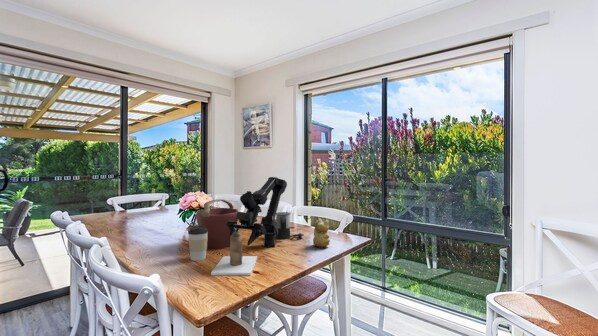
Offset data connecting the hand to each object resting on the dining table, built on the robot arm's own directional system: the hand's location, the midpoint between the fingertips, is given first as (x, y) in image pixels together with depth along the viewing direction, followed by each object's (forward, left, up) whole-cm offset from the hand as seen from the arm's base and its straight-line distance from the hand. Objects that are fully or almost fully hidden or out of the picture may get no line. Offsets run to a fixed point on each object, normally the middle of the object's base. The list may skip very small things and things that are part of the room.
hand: (238, 243), depth 126 cm
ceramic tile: (+2, -1, -9) cm, 10 cm away
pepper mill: (+2, -1, -8) cm, 8 cm away
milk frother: (-44, +22, -9) cm, 50 cm away
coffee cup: (-8, -21, -9) cm, 24 cm away
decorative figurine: (-26, +39, -9) cm, 48 cm away
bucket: (-30, -18, -9) cm, 36 cm away
